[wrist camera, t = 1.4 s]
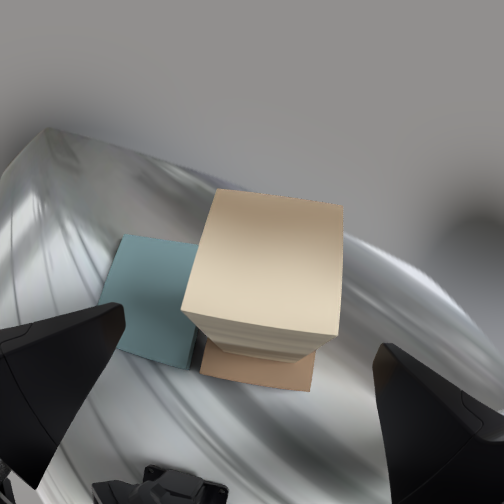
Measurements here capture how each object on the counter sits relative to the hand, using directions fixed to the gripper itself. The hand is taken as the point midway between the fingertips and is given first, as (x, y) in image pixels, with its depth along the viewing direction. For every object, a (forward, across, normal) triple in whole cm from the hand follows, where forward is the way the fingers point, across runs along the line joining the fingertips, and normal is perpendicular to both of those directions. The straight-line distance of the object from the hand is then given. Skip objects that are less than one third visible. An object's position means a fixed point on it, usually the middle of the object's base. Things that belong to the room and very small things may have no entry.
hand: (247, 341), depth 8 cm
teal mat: (+11, +9, +6) cm, 15 cm away
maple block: (+8, -1, +4) cm, 9 cm away
